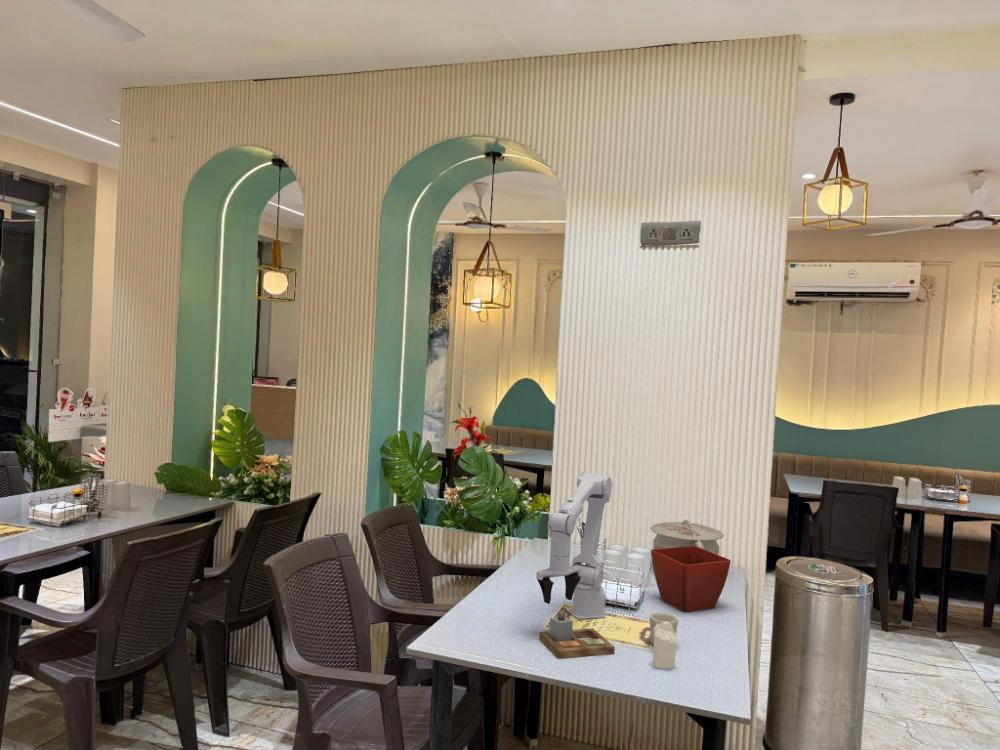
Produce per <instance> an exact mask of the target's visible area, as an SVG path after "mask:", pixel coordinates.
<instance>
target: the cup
mask: <svg viewBox="0 0 1000 750" xmlns="http://www.w3.org/2000/svg"><path fill="white" fill-rule="evenodd" d="M666 621H667V622H669V623H670V624H672V628H673V630H674V631H675V634H676V635H677V631H678V625H679V624H678V623H679V618H678V616H676V615H674V614H672V613H667V612H661V611H660V612H653V613H650V615H649V632H650V633H649V636H650V642H651V644H652V645H654V634H655V632H656V631H657V630H658V629H659V627H660V626H661V624H662V623H664V622H666Z"/></svg>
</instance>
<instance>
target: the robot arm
mask: <svg viewBox="0 0 1000 750" xmlns="http://www.w3.org/2000/svg"><path fill="white" fill-rule="evenodd" d="M612 489H613V482H612V478H611V477H610V475H607V474H606V475H603V474H595V473H588V472H581V473H579V475H578V477H577V479H576V490H575V491H574V493H573V495H572V496H571V497H568V498H566V499H565V500H564V503H563V504H562V505H561V507H560V508H559V509H558V511H556V512H553V513H551V514H550V515H549V516H548V520H547V521H548V522H547V529H548V534H549V535H548V537H549V538H550V548H549V550H550V551H549V552H550V553H549V554H550V555H549V566H548V567H547V568H544V569H541V570H538V571H536V580H537V582H538V585H539V586H540V589H541V592H542V598H543V602H544V603H545V604H547V605H551V601H552V599H551V598H552V590H553V585H554V583H555V582H554V581H552V580H551V578H558V577H564V583H565V589H564V590H565V593H564V594H565V599H566V600H568V601H572V600H573V601H572V608H569V609H567V611H568V612H569V613H570V614H571V615H572V616H573V617H575V618H576V619H577V620H584V619H585V620H586V619H599V618H605V617H606V615H605V604H606V603H605V601H606V594H605V590H604V588H603V586H602V584H603V582H604V578H605V577H604V575H605V574H604V562H603V561H602V560H601V559H600V558H599V557H598V556H597V553H598V547H599V542H600V536H601V535H600V534H601V527H602V521H603V514H604V510H605V505H606V504H607V503H610V499H611V495H612ZM585 502H587V504H588V507H587V512H586V520H585V525H584V532H583V538H582V545H581V551H580V554H578V555H576V556H574V557H573V558H572V561H571V541H572V540H571V539H572V534H573V533H574V532H575V531H574V530H575V526H576V524H577V519H578V517H580V515H581V513H583V509H584V506H583V504H584V503H585ZM570 561H571V562H570ZM570 563H571V564H570ZM583 563H584V564H583Z"/></svg>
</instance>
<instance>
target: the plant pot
mask: <svg viewBox="0 0 1000 750" xmlns="http://www.w3.org/2000/svg"><path fill="white" fill-rule="evenodd" d="M650 554H651V555H650V556H651V563H652V568H653V573H654V578H655V582H656V586H657V590H658V592H659V596H660V598H661V600H662V601H663V602H664V603H667V604H668V605H670V606H672V607H674V608H676V609H677V610H679V611H682V612H684V613H686V612H687V613H688V612H693V611H694V612H696V611H702V610H703V611H704V610H710V609H714V608H715V607H716V605H717V603H718V601H719V599H720V597H721V594H722V592H723V590H724V587H725V585H726V581H727V577H728V575H729V572H730V566H731V561H732V560H731V559H729V558H727V557H725V556H721V555H720V554H719V555H717V554H714V553H712V552H709V551H707V550H704V549H702V548H699V547H697V546H685V547H673V548H662V549H651V550H650Z"/></svg>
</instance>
